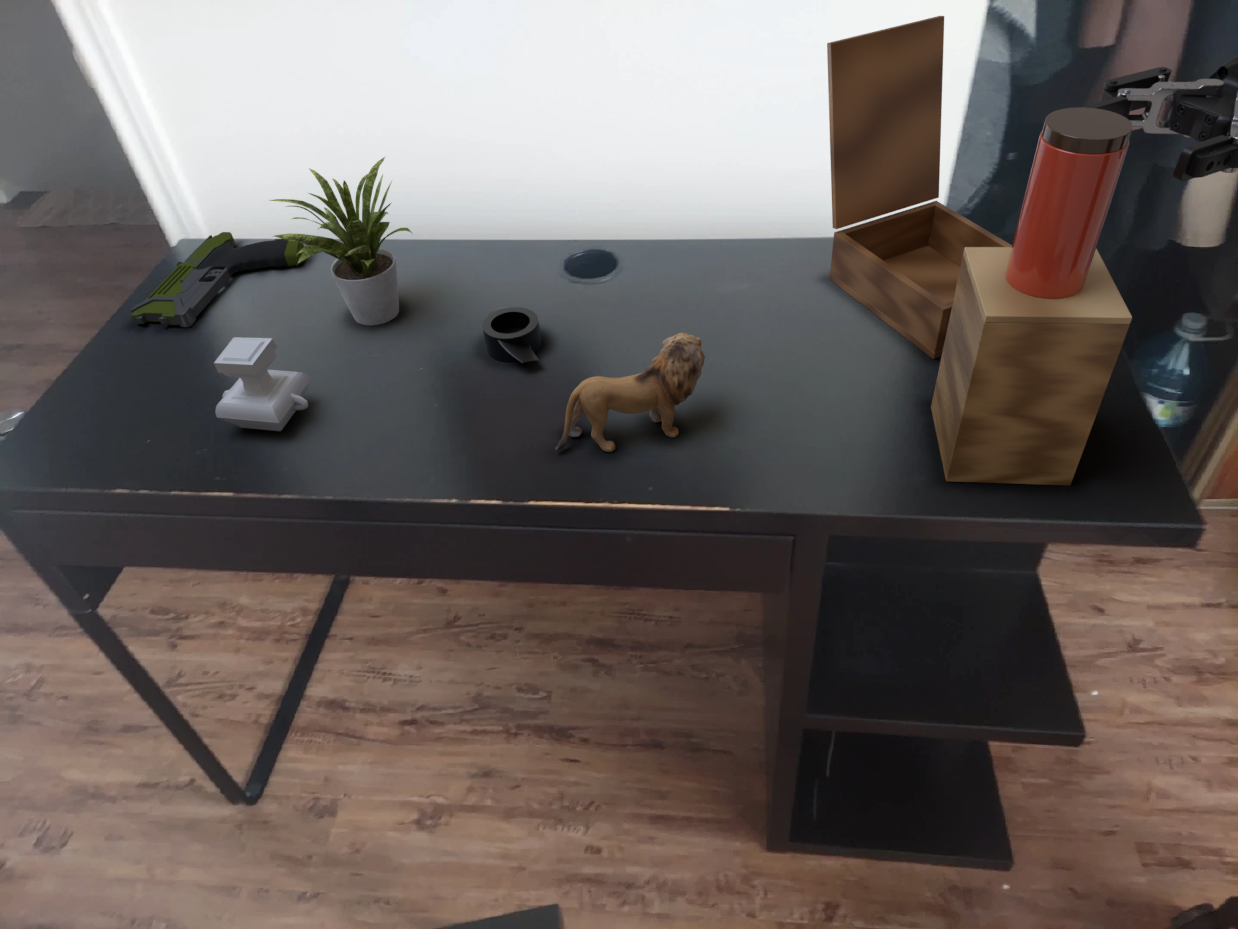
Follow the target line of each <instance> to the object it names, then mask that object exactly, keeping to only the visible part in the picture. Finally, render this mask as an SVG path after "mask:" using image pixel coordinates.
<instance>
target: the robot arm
mask: <svg viewBox="0 0 1238 929" xmlns="http://www.w3.org/2000/svg"><path fill="white" fill-rule="evenodd" d="M1172 72H1173V70H1172V69H1171V68H1170V67H1166V66H1160V67H1155V68H1154V67H1153V68H1149V69H1146V70H1142V71H1139V72H1134V73H1130V74H1126V75H1122V76H1117V77H1114V78H1110V79H1106V80H1105V81H1104V84H1103V90H1102V93H1101V97H1100V100H1099V101H1097V102H1093V103H1090V104H1087V105H1084V106H1083V107H1085V108H1096V109H1103V110H1107V111H1111V112H1114V113H1117V114H1120V115H1122V116H1124V117H1125V118H1127V119H1128V120H1129V121H1130V122H1131V123H1132V126H1133V128H1141V129H1142V130H1143V133H1145V134H1148V135H1181V136H1182V137H1184V138H1187V139H1193V140H1194V141H1196V143H1193V144H1190V145H1187V146H1184V148H1182V150H1181V152H1180V153H1179V156H1178V158H1177V160H1176V164H1175V167H1174V169H1173V172H1172V177H1173V178H1175V179H1177V180H1179V181H1181V182H1186V181H1189V180H1193V179H1198V178H1204V177H1207V176H1210V175H1213V174H1216V173H1219V172H1221V173H1225V174H1233V173H1237V171H1238V54H1237V55H1235V56H1233V57H1231V58H1230V59H1228V60H1226V62H1224V63H1223V64H1222V65H1221V66H1220V67H1218V69H1216V70H1215V71H1214V72H1213V73H1212V74H1211V75H1210V76H1209V77H1208V78H1200V79H1197V80H1189V81H1171V80H1170V79H1171V74H1172ZM1164 101H1170V102H1171V104H1170V107H1169V111H1168V114H1167V120H1158V119H1159V116H1160V113H1161V110H1162V108H1163V104H1164ZM1141 109H1144V110H1143V112H1142V113H1140V114H1130V112H1134V111H1137V110H1141Z"/></svg>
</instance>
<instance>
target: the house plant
mask: <svg viewBox="0 0 1238 929" xmlns="http://www.w3.org/2000/svg"><path fill="white" fill-rule="evenodd" d="M385 159H386V156H384V157H382V158H381V159H379V160H377V161H376V163H374V165H373V166H372V167H371V169H370V170H369V172H368V173H367V174H366V175H364V176H363V177H361V179H360V181H359V183H358V186H357V188H356V192H355V206H354V202H353V198H352V194H351V190H350V187H349V185H348V183H347V182H346V180H343V182H342V185H341V183H339V182H338V180H336V179H334V178H333V177H332V178H331V179H332V181H333V183H334V185H335V187H336V190H337V192H338V194H339V196H340V200H341V202H342V205H343V207H344V209H345V212H344V210H343V208H342V207H341V204H340V203H339V200H338V198H337V196H336V194H335V193H334V191H333V189H332V187H331V184H330V183H329V181H328V180H327V179H326V178H325V177H324V176H322V175H321V174H320V173H318V171H316V170H314V169H312V168H308V169H309V171H310V172H311V173H312V174H313V176H314V177H315V179H316V180H317V182H318V183H319V185H320V187H321V189H322V191H323V193H324V196H325V198H323V197H322V196H320V195H317V194H314V193H311V192H308V194H309V195H311V196H313V197H314V198H317V199H318V200H320V201H321V202H322V203H323V204H324V205H325V206H326V207H325V206H324V207H323V209H324V211H323V210H322V209H320V207H317V206H315V205H313V204H312V203H309V202H307V201H304V200H299V199H287V198H286V199H285V198H276V199H269V201H271V202H280V203H282V202H283V203H289V204H295V205H286V206H285V205H284V207H285V208H286V207H293V208H299V209H302V210H305V211H307V212H308V213H310V214H312V215H313V216H314V217H315V218H317V219H318V220H319V221H320V222H321V223H319V222H317V221H315V220H313V219H311V220H310V218H306V217H300V216H297V217H292V218H291V220H307V221H310V222H314V223H316V224H318V225H320V226H319V227H317V229H318V230H320V229H323V230H327V231H330V232H331V233H332V234H333V235H334V236H336V238H338V239H339V241H338V240H336V239H334V238H331V237H326V236H322V235H321V236H320V235H314V234H304V233H282V234H276V235H275V234H274V235H272V236H271V237H275V238H277V239H291V240H289V241H297V242H300V243H303V245H304V247H303V248H302V249H301V250H300V251H299V252H298V253H297V254H299V253H302V252H304V253H303V254H302V255H301V256H300V258H299V261H298V263H300V262H301V261H303V260H305V261H306V260H307V259H309V258H310V257H313V256H315V255H317V254H321V253H324V254H327V255H329V256H331V257H333V258H335V260H333V263H332V264H331V265H330V270H329V272H330V276H332V279H333V281H334V283H335V284H336V287H337V288H338V291H339V293H340V294H341V296H342V298H343V300H344V302H345V304H346V306H347V308H348V310H349V312H350V313H351V315H352V317H353V319H354V321H355V322H356V323H358V324H360V325H362V326H363V325H364V326H378V325H379V326H380V325H383V324H386V323H388V322H391V320H393V319H395V318H396V317H397V316H398V315H399V313H400V301H399V287H398V286H399V285H398V269H397V258H396V256H395V254H394V253H393V252H392V251H390V250H388V249H385V248H380V247H381V245H382V243H383V242H384V241H385V240H386V239H387V238H388V237H390V236H391V235H394V234H395V233H399V232H408V233H411V234H412V235H414V233H413V232H412V231H411V229H409V228H408V227H400V228H397V229H395V230H392V231H391V232H389V233H387V235H386V236H384V237H383V235H384V234H385V232H386V231H387V230H388V228H389V225H390V223H391V222H390V221H383V219H384V217H386V215H389V212H388V211H386V210H387V209H388V208H389V207H390V206H391V204H392V203H393V201H392V202H390V203H389V204H388V205H386V206H385V207H384V205H385V202H386V200H387V195H388V193H389V191H390V187H391V185H392V182H393V180H391V182H390V183H389V185H388V187H387V188H386V190H385V192H384V194H383V197H382V200H381V203H380V206H379V207H378V210H377V211H375V209H376V204H377V202H378V198H379V195H380V192H381V186H382V181H383V178H384V177H383V176H384V174H382V175H381V177H380V178H379V181H378V184H377V186H376V188H375V193H374V197H373V200H372V195H373V190H374V186H375V182H376V180H377V177H378V172H379V169H380V167H381V165H382V164H383V163H384V161H385ZM361 198H362V199H361ZM360 200H361V201H362V202H361V201H360ZM360 202H361V205H362V206H361V219H360ZM327 207H328V208H327ZM314 212H315V213H316V214H315V213H314ZM345 213H346V214H345ZM317 214H318V215H319V216H320V217H321V218H323V219H325V220H326V222H325V221H324V220H322V219H321V218H320V217H319V216H318V215H317ZM340 223H341V224H340ZM391 224H392V223H391ZM341 225H342V226H341ZM382 237H383V238H382ZM381 238H382V239H381ZM296 256H297V255H296ZM300 264H301V263H300ZM296 266H297V267H298V266H299V264H297V265H296Z"/></svg>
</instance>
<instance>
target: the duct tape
mask: <svg viewBox="0 0 1238 929" xmlns="http://www.w3.org/2000/svg"><path fill="white" fill-rule="evenodd" d="M481 327H482V332H483V337H484V342H485V348H486V352H487V354H488V356H490V357H491V358H492V359H494V360H496V361H499V362H504V363H516V362H520V363H521V364H527V363H534V362H539V361H540V358H539V357H538V356H537V355H536V354H537V353H538V352H539V351H540V350H541V348H542V336H541V335H542V334H541V330H540V323H539V317H538V315H537V313H535V311H533V310H531V309H529V308H526V307H521V306H520V307H519V306H511V307H506V306H503V305H502V306H499V307H496V308H493V309H492V310H491V311H489V312H488V313H487V316H486V317H485V318H484V319H483V321H482V325H481Z"/></svg>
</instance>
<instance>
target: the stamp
mask: <svg viewBox="0 0 1238 929" xmlns="http://www.w3.org/2000/svg"><path fill="white" fill-rule="evenodd" d="M277 349H278V347H277V344H276V342H275V340H274V338H273V337H242V336H241V337H238V336H237V337H236V336H234V337H232V338H231V340H230V341H229V342H228V344H227V345H226V347H225V348H224V349H223V351H221V353H220V354H219V355H218V356H217V358H216V359H215V361H214V362H213V365H214V367H215V369H216V372H217V373H218V374H223V376H225V377H229V378H237V380H236V382H235V383H234V384H233V385H232V386H231V388H229V389H227V390H224V392H223V394H222V398H221V399H220V401H219V402H218V403H217V404H216V406H215V412H214V413H215V416H216V418H217V419H220V420H221V421H224V422H227V423H229V424H232V425H235V426H236V427H239V428H242V429H253V430H264V431H274V432H282V430H283V429H284V428H285V427H286V425H287V424H288V422H289V421H290V419H291V418H292V417H293V415H295V413H296V411H304V410H306V409H307V408H308V407H309V403H308V400H307V399H306V398H304V397H305V394H306V392H307V390H308V388H309V385H310V383H311V379H310V377H309V376H308V375H307V374H305V373H304V372H301V371H292V370H280V369H269V367H270V366H271V365H272V364H273V362H274V361H275V360H276V358H277V352H276V350H277Z"/></svg>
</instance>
